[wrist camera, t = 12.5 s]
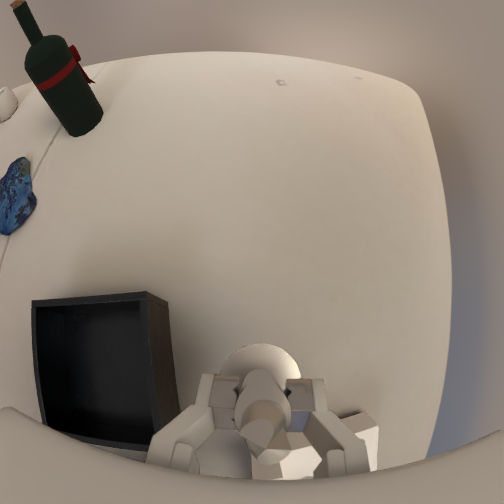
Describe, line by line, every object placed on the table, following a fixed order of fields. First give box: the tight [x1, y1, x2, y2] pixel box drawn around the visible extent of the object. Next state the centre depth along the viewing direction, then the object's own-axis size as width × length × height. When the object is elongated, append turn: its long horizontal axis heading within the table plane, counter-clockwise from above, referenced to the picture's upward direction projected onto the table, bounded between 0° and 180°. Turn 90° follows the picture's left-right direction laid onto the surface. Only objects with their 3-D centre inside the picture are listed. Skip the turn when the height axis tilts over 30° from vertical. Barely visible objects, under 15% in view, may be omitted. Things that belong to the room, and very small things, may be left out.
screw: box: [220, 343, 301, 465], centre depth 11 cm, size 13×5×5 cm
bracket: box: [251, 411, 378, 480], centre depth 22 cm, size 13×7×8 cm, turn 100°
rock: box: [0, 157, 36, 235], centre depth 36 cm, size 15×17×2 cm
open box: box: [31, 291, 181, 452], centre depth 25 cm, size 16×16×7 cm
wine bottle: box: [10, 0, 103, 137], centre depth 27 cm, size 8×10×30 cm
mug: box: [0, 86, 17, 121], centre depth 43 cm, size 12×8×8 cm
